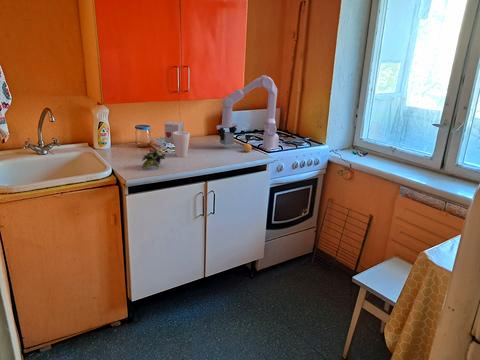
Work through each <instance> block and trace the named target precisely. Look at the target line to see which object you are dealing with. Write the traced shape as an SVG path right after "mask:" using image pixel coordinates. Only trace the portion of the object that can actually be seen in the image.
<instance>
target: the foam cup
mask: <svg viewBox="0 0 480 360" xmlns="http://www.w3.org/2000/svg"><path fill="white" fill-rule="evenodd" d="M190 135H191V132H189V131H187V130H184V131H175V132H173V139H174V146H175V149H174V152H175V156H176V157H178V158H185V157H187V156H188V151H189V143H190V137H191V136H190Z"/></svg>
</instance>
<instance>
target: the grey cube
mask: <svg viewBox="0 0 480 360" xmlns="http://www.w3.org/2000/svg"><path fill="white" fill-rule="evenodd" d="M234 137H235V133H231V132H229V131H225V133H224V141H222V140H221V138H220V137H219V143H220V145H224V146H230V145H234V140H235V138H234Z"/></svg>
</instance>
